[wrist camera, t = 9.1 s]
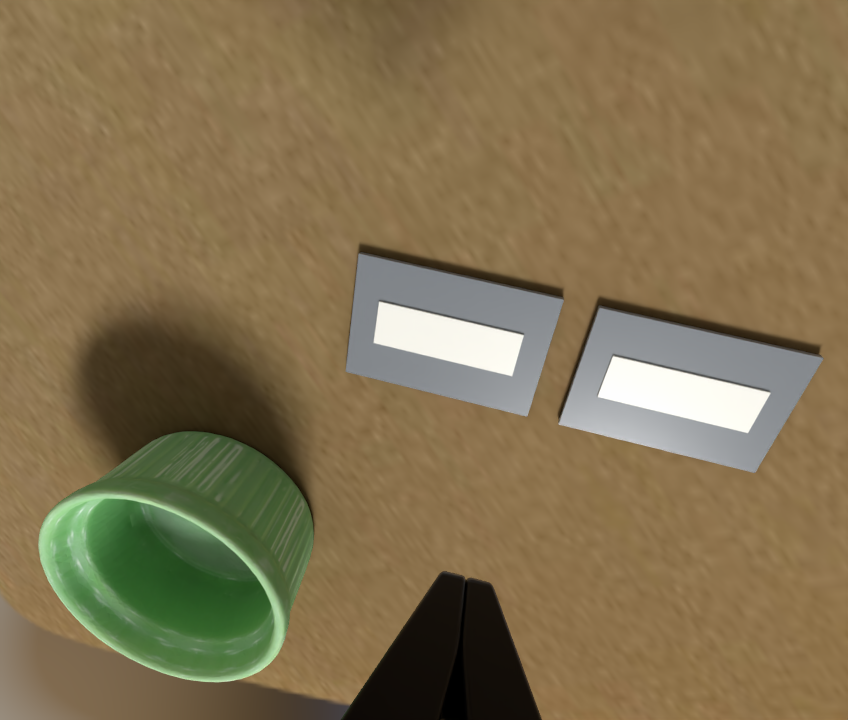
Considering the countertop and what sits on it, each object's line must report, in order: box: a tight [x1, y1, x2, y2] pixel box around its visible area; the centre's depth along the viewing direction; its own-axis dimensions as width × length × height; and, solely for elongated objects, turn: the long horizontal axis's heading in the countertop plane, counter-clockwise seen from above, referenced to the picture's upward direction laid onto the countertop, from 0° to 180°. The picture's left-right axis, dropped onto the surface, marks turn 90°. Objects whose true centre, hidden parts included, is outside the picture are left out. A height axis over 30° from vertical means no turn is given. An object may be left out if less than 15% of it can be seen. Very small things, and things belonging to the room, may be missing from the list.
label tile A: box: [558, 305, 824, 473], centre depth 15 cm, size 6×4×1 cm, turn 80°
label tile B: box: [346, 252, 564, 416], centre depth 16 cm, size 6×4×1 cm, turn 80°
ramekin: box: [39, 431, 314, 682], centre depth 20 cm, size 9×9×4 cm
